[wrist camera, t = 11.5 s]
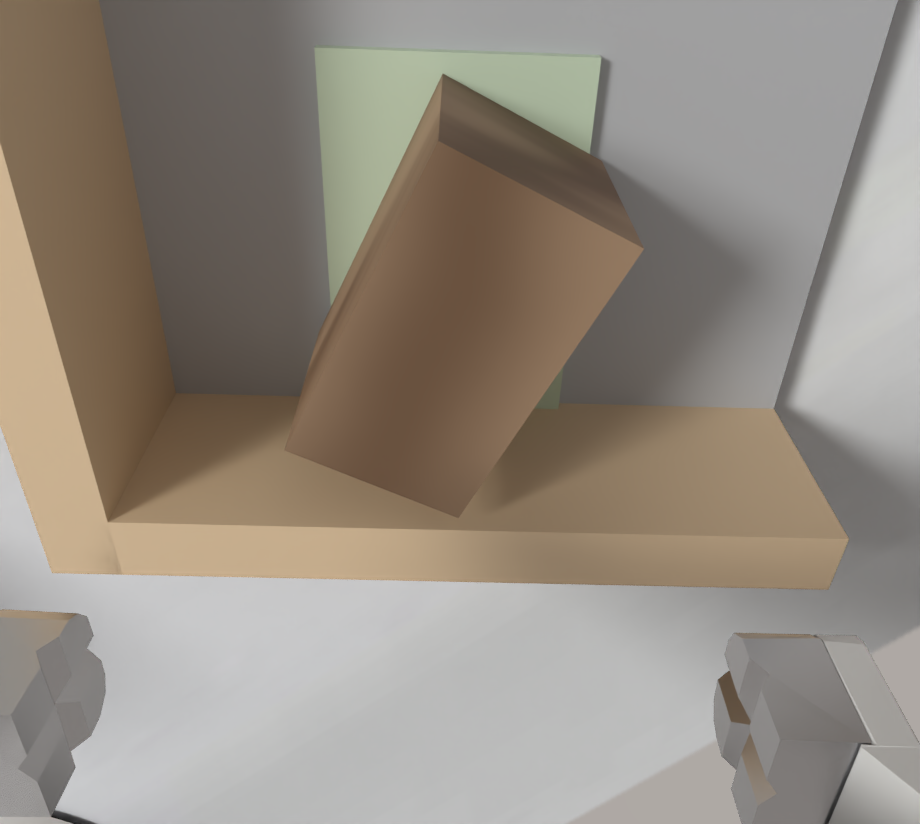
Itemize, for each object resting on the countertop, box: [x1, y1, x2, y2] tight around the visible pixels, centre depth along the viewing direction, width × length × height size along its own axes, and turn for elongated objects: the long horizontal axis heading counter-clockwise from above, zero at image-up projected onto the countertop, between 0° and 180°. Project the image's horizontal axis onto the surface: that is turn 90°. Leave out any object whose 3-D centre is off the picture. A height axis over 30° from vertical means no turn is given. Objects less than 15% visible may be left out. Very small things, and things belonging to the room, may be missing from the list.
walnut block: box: [284, 74, 644, 518], centre depth 17 cm, size 4×7×5 cm, turn 153°
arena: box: [0, 0, 898, 590], centre depth 16 cm, size 18×18×6 cm
